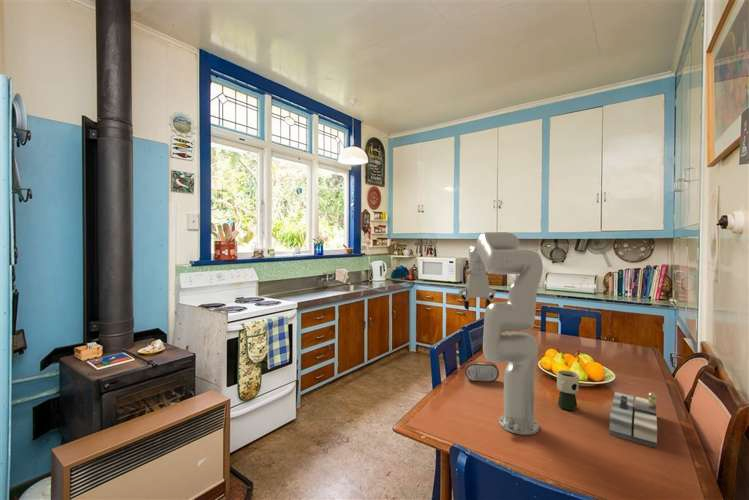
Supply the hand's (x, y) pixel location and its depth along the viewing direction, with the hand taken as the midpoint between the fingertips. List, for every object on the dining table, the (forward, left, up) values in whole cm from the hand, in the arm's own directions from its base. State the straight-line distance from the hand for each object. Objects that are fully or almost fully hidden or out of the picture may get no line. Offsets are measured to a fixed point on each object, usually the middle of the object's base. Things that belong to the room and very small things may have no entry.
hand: (477, 309), depth 163 cm
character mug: (-10, -39, -31) cm, 51 cm away
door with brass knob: (-10, -62, -25) cm, 68 cm away
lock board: (-10, -59, -31) cm, 68 cm away
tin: (-5, -4, -31) cm, 32 cm away
